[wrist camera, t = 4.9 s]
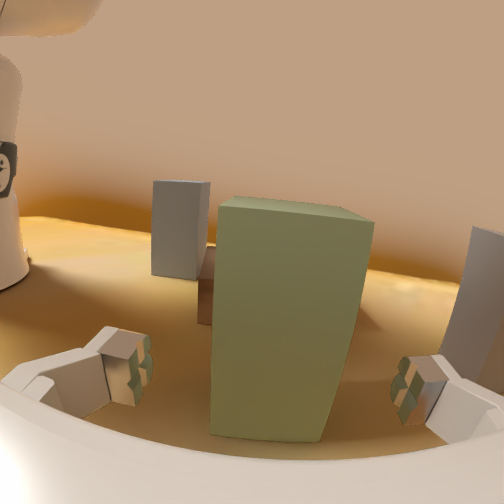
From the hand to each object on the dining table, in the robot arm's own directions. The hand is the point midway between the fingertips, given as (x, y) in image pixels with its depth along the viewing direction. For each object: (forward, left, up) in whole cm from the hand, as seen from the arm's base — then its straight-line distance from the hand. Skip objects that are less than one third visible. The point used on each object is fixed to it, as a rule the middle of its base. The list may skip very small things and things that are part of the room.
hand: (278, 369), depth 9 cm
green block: (0, +4, -5) cm, 7 cm away
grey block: (+15, +6, -5) cm, 17 cm away
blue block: (-10, +24, -5) cm, 27 cm away
